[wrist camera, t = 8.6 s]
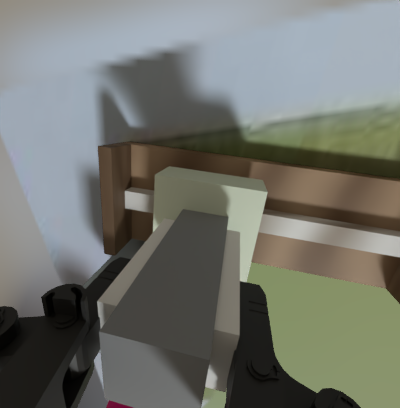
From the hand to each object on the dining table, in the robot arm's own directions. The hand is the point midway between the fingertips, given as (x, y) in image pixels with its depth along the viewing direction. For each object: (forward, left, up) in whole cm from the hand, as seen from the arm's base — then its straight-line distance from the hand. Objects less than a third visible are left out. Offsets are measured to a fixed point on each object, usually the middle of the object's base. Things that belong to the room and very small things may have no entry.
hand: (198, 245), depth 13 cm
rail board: (-4, 0, -8) cm, 9 cm away
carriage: (0, 0, -5) cm, 5 cm away
